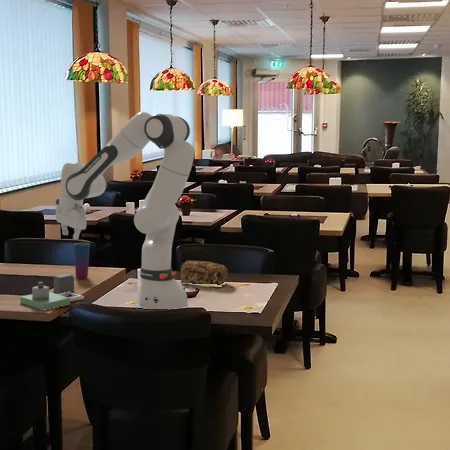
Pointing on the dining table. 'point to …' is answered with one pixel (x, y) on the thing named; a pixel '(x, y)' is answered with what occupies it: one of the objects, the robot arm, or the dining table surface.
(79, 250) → the cup
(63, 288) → the grey piece
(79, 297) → the bracket
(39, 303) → the deck
